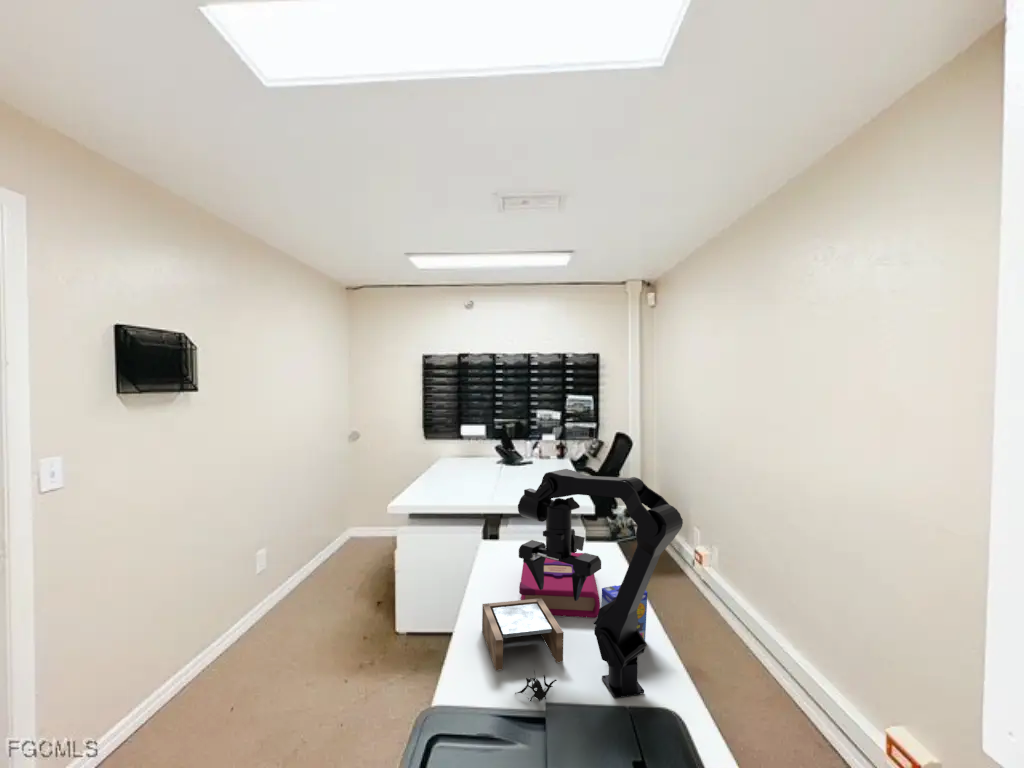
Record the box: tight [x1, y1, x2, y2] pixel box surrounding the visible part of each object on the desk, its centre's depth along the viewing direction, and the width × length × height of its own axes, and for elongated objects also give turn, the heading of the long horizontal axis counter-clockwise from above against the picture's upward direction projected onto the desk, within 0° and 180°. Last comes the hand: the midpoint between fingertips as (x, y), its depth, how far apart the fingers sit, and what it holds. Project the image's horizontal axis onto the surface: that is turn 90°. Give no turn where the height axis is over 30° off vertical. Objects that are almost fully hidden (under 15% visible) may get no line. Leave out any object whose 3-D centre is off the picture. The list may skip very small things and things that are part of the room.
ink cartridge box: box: [600, 584, 648, 642], centre depth 117 cm, size 10×6×14 cm, turn 111°
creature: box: [514, 670, 558, 702], centre depth 96 cm, size 8×5×8 cm
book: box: [518, 552, 601, 619], centre depth 141 cm, size 21×28×8 cm
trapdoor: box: [493, 604, 552, 639], centre depth 113 cm, size 12×11×1 cm
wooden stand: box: [481, 598, 564, 672], centre depth 114 cm, size 16×15×6 cm
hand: (558, 594), depth 111 cm, fingers open, 9 cm apart
